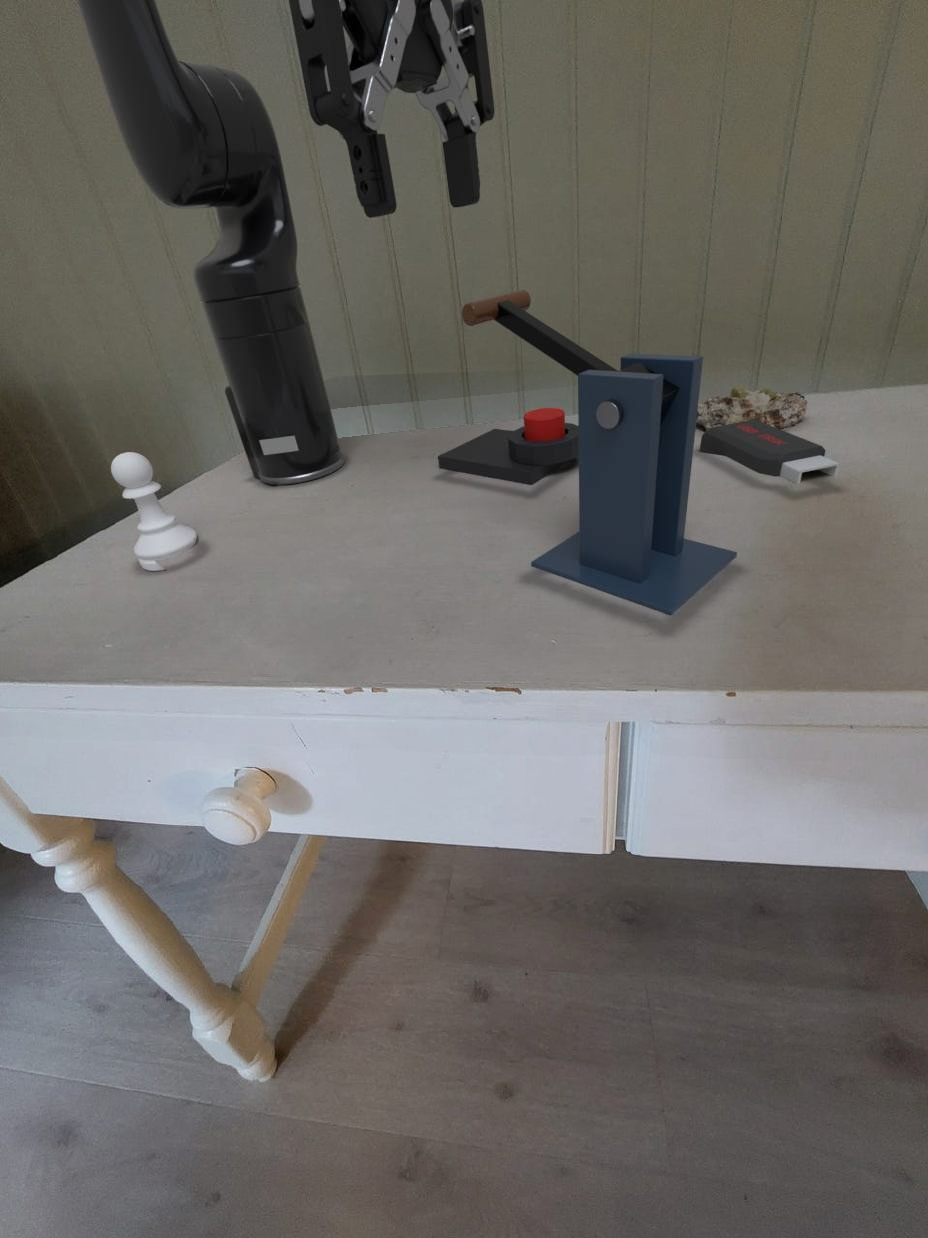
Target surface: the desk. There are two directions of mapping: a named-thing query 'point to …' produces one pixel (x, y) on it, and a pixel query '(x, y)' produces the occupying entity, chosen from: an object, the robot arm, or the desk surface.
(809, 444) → the usb drive
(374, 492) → the desk surface
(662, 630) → the desk surface
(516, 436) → the box
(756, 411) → the mineral rock
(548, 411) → the red button
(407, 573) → the desk surface
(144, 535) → the chess pawn
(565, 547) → the stand
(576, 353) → the switch lever
